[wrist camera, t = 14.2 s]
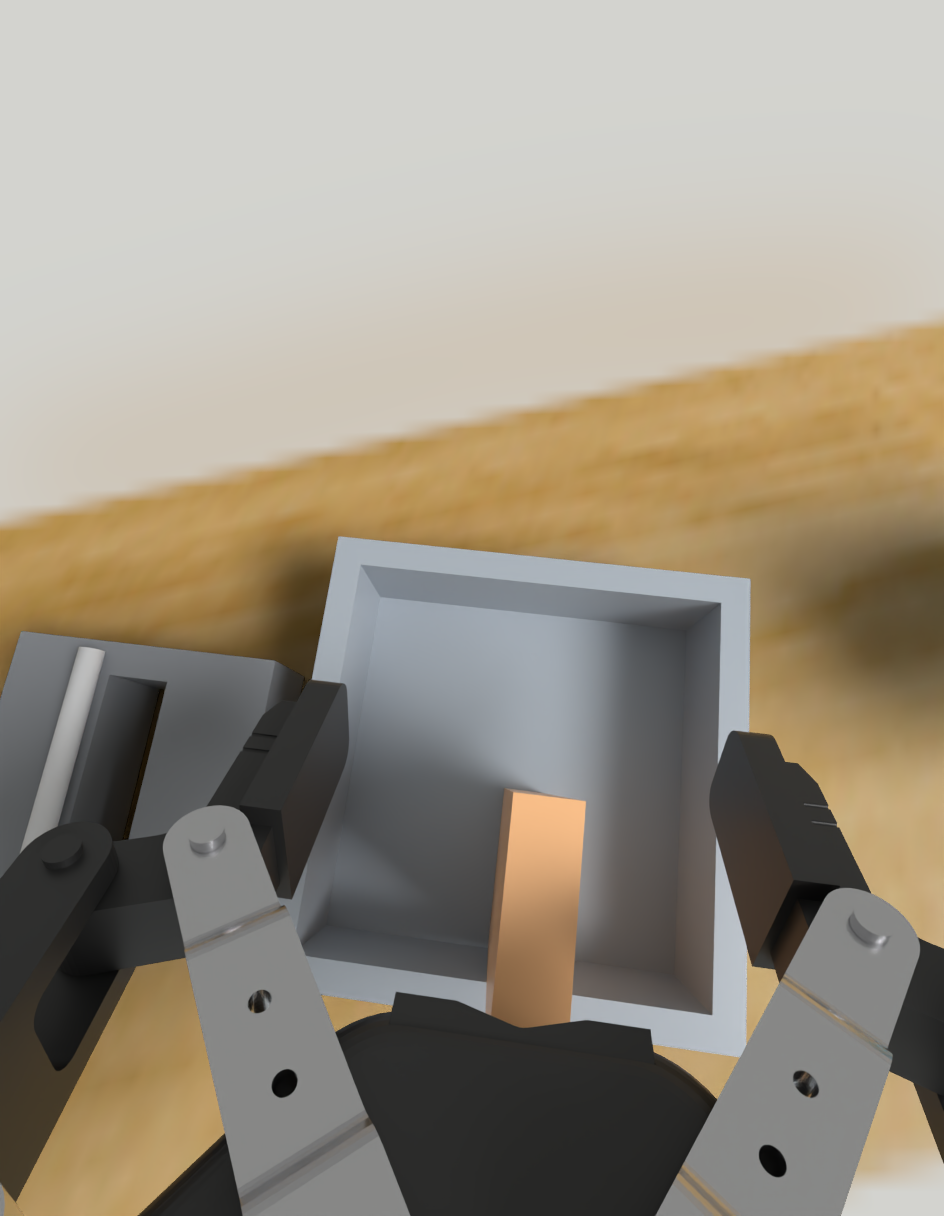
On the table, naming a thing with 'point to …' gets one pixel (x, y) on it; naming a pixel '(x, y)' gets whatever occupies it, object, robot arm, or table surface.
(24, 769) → the ticket dispenser
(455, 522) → the table surface
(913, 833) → the table surface
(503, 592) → the tray
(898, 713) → the table surface
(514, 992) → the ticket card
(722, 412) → the table surface
